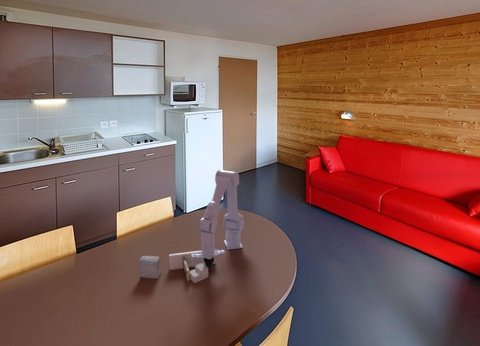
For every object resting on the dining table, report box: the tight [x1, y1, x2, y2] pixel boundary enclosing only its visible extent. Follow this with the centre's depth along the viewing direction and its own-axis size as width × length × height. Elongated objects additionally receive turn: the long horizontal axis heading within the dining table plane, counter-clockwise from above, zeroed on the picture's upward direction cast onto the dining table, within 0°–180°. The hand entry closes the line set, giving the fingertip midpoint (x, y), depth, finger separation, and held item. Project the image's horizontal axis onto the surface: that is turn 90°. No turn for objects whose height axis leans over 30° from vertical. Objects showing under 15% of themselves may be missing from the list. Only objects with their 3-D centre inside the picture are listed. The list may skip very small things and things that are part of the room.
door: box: [183, 260, 191, 282], centre depth 136 cm, size 8×2×5 cm, turn 20°
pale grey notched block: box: [189, 263, 209, 284], centre depth 134 cm, size 5×7×4 cm
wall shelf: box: [168, 249, 216, 271], centre depth 142 cm, size 3×21×7 cm, turn 105°
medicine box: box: [138, 255, 162, 280], centre depth 135 cm, size 8×4×9 cm, turn 84°
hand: (208, 271), depth 138 cm, fingers closed
